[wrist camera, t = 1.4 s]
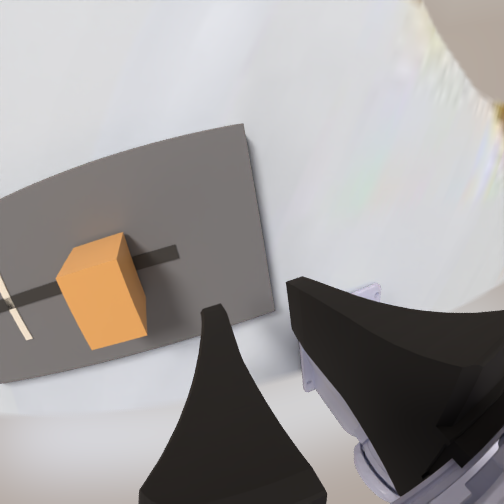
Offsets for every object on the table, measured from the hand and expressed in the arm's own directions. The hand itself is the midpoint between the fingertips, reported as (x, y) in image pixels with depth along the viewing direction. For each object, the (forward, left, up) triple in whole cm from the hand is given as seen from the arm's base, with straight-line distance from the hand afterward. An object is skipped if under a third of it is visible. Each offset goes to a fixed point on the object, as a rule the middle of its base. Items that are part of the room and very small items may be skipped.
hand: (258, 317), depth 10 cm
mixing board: (0, +9, -9) cm, 13 cm away
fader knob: (0, +6, -8) cm, 10 cm away
